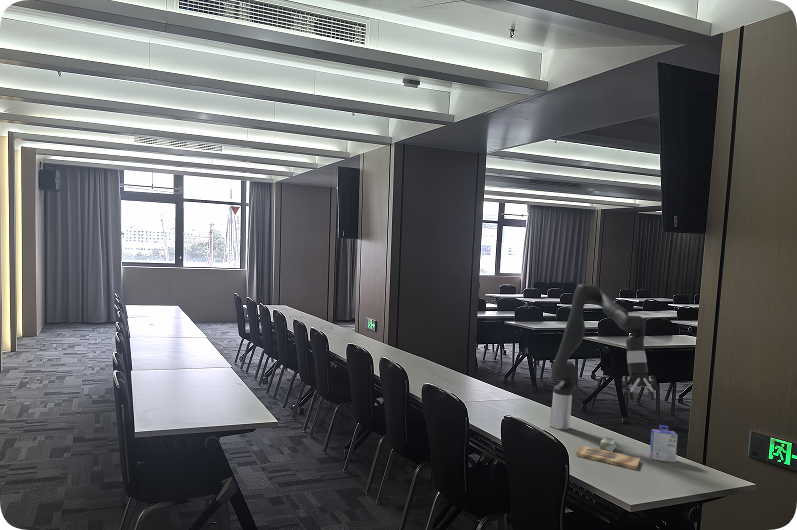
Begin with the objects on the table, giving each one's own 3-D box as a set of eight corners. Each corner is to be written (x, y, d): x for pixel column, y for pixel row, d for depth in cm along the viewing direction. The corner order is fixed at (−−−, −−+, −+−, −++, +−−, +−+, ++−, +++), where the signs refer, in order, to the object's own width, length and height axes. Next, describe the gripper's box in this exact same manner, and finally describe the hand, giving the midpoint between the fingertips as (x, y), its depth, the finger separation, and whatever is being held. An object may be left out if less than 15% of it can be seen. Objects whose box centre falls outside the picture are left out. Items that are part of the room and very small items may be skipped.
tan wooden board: (576, 455, 237) (576, 452, 236) (581, 448, 247) (582, 445, 247) (636, 470, 225) (636, 466, 225) (639, 461, 235) (640, 458, 235)
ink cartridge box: (672, 458, 243) (675, 426, 242) (676, 463, 237) (679, 429, 237) (648, 455, 244) (651, 423, 244) (651, 459, 239) (654, 426, 239)
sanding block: (599, 451, 246) (600, 441, 246) (604, 446, 253) (604, 436, 253) (611, 454, 243) (612, 444, 243) (615, 449, 251) (616, 439, 251)
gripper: (647, 362, 239) (652, 401, 235) (616, 362, 237) (620, 401, 233) (657, 361, 231) (662, 401, 228) (625, 361, 230) (630, 401, 226)
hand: (641, 401), depth 230 cm, fingers open, 8 cm apart
